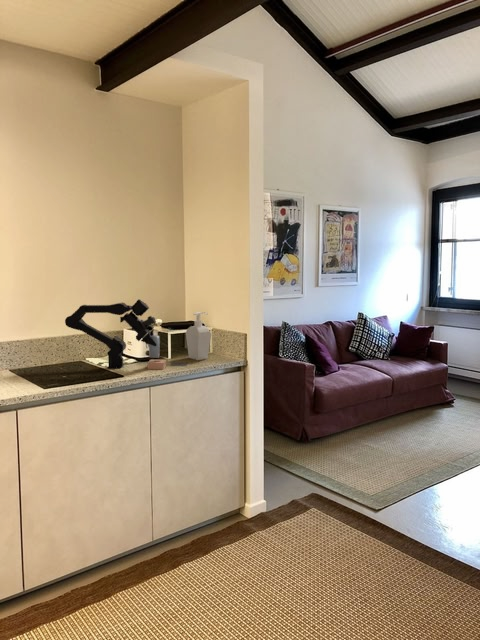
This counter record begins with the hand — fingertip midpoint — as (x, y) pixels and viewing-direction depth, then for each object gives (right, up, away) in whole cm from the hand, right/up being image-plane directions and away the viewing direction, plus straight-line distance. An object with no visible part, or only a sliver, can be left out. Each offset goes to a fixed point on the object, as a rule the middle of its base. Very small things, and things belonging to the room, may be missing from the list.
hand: (157, 344), depth 263 cm
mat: (+10, -11, +9) cm, 17 cm away
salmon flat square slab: (0, -12, +1) cm, 12 cm away
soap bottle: (+19, -9, +27) cm, 34 cm away
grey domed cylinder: (-1, -6, +1) cm, 6 cm away
